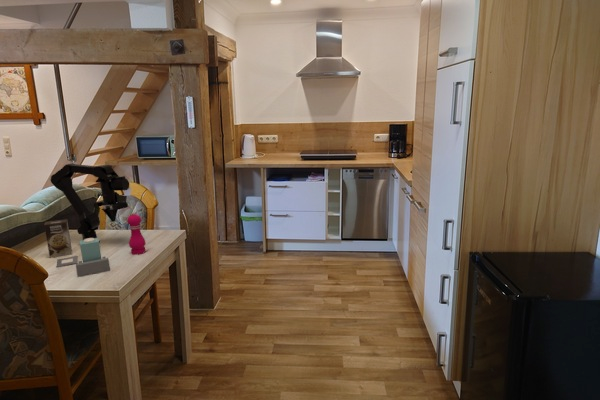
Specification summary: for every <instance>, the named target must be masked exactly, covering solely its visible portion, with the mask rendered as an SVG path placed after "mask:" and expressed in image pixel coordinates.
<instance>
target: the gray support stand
mask: <svg viewBox="0 0 600 400" xmlns="http://www.w3.org/2000/svg"><path fill="white" fill-rule="evenodd" d="M101 258H102V259H99V260H93V261H88V262H83V260H79V261H78V263H77V264H75V268H76V269H75V270H76V275H77V278H82V277H86V276H90V275H96V274H100V273H105V272H110V271H111V268H110V267H111V265H110V261H109V257H106V256H101Z"/></svg>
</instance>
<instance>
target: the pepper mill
mask: <svg viewBox="0 0 600 400" xmlns="http://www.w3.org/2000/svg"><path fill="white" fill-rule="evenodd" d="M130 214H131V215H129V216H128V217H127V221H126V222H127V223H128V225H129V226H128V227H129V230H130V233H131V234H130V238H129V242H128V246H129V248H130V253H131V255H133V256H134V255H135V256H136V255H141V254H142V255H143V254H144V253H146V239H145V237H144V236H143V234H142V232H141V228H142V224H141V222H142V217H141V216H140V215H138V214H136V212H135V211H132V212H131V213H130Z"/></svg>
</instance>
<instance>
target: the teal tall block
mask: <svg viewBox="0 0 600 400" xmlns="http://www.w3.org/2000/svg"><path fill="white" fill-rule="evenodd" d="M99 241H100V240H99V237H97V238H87V239H84V240H83V239H82V240H79V247H80V253H81V259H82V260H81V261H82V263H83V262H88V261H93V260H99V259H103V258H102V252H101V246H100V242H99Z"/></svg>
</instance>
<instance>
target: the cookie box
mask: <svg viewBox="0 0 600 400" xmlns="http://www.w3.org/2000/svg"><path fill="white" fill-rule="evenodd" d="M43 224H44V232H45V237H46V243H47V248H48V255H49V258H50V259H53V258H57V257H62V256H69V255H73V254H72V253H73V248H72V247H73V246H72V241H71V237H70V229H69V223H68V218H67V219H59V220H58V219H57V220H51V221H45V222H44V223H43Z"/></svg>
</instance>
